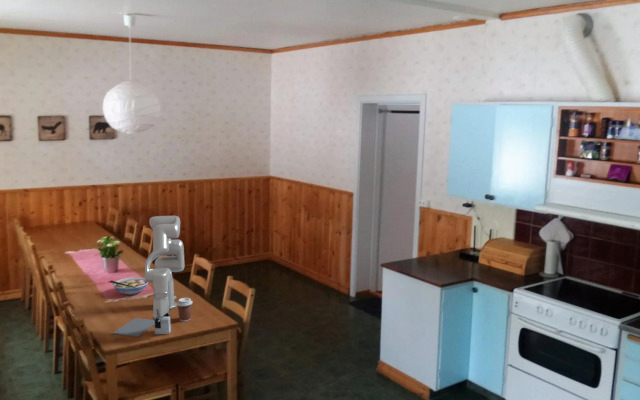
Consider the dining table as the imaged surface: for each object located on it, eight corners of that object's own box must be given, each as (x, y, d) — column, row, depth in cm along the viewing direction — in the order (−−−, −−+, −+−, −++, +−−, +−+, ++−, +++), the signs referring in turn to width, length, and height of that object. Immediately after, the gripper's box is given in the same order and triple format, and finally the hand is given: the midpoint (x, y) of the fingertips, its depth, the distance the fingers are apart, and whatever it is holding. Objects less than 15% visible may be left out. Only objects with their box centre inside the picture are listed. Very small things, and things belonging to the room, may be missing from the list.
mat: (134, 319, 331) (134, 318, 331) (158, 321, 327) (158, 320, 327) (113, 334, 310) (113, 332, 310) (137, 336, 306) (137, 335, 306)
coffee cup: (176, 317, 334) (175, 298, 332) (192, 315, 337) (191, 296, 335) (178, 323, 325) (177, 303, 323) (194, 321, 329) (193, 301, 327)
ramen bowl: (157, 291, 380) (157, 279, 379) (130, 301, 361) (129, 289, 360) (132, 285, 393) (132, 273, 392) (104, 294, 374) (103, 282, 373)
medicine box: (171, 331, 314) (170, 316, 313) (169, 334, 310) (168, 319, 308) (156, 331, 314) (155, 316, 312) (154, 334, 309) (153, 319, 308)
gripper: (162, 289, 317) (163, 318, 320) (146, 299, 300) (148, 330, 303) (174, 290, 315) (176, 319, 318) (159, 300, 299) (160, 331, 301)
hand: (162, 324), depth 310 cm, fingers open, 9 cm apart
